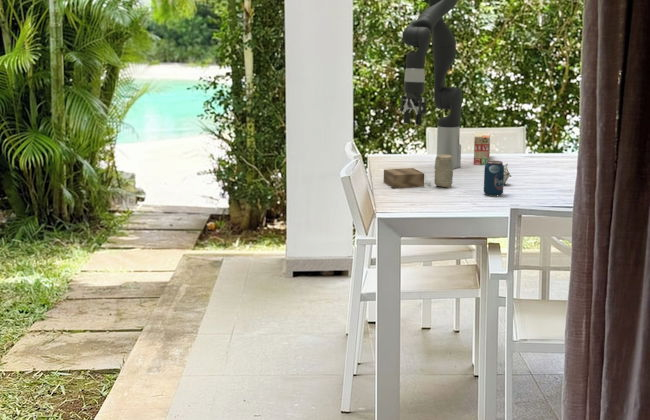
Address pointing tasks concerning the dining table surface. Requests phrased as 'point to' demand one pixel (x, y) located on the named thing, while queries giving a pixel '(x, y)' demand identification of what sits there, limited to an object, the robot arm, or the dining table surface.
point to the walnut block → (403, 178)
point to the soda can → (493, 178)
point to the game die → (506, 174)
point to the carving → (443, 170)
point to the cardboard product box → (481, 148)
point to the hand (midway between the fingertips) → (412, 124)
